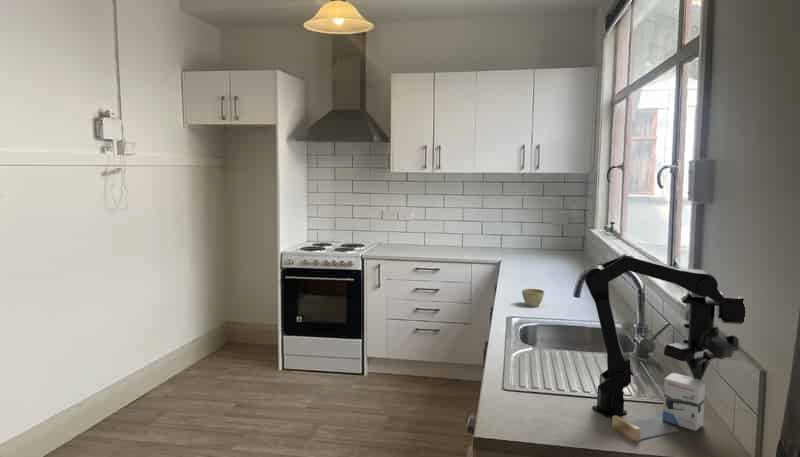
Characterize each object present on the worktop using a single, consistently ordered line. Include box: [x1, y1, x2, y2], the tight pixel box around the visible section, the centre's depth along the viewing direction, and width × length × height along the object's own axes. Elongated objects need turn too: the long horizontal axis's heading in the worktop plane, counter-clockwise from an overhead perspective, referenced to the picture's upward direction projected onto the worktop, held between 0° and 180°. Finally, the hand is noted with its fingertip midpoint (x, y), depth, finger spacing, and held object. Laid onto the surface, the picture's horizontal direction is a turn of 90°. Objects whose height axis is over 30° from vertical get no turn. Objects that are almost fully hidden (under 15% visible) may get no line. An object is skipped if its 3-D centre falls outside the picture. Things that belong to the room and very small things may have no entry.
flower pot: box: [521, 288, 545, 308], centre depth 276 cm, size 10×10×7 cm
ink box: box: [662, 372, 706, 432], centre depth 151 cm, size 8×5×12 cm, turn 44°
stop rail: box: [611, 415, 641, 442], centre depth 146 cm, size 8×1×3 cm, turn 23°
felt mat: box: [629, 417, 680, 441], centre depth 149 cm, size 8×13×1 cm, turn 114°
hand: (697, 381), depth 151 cm, fingers closed
